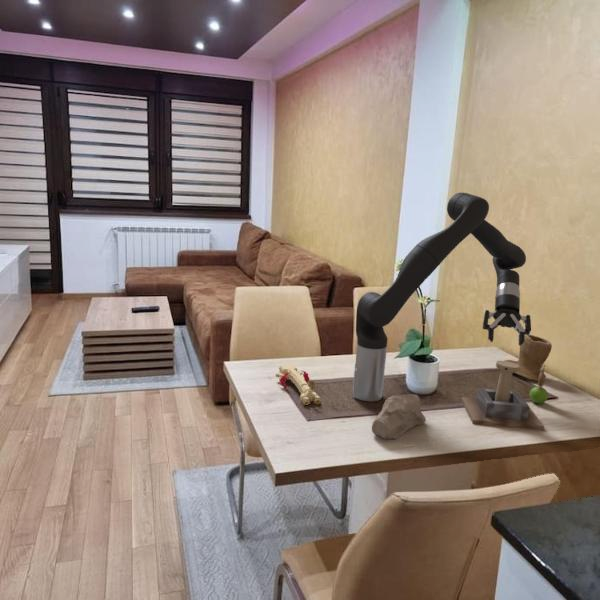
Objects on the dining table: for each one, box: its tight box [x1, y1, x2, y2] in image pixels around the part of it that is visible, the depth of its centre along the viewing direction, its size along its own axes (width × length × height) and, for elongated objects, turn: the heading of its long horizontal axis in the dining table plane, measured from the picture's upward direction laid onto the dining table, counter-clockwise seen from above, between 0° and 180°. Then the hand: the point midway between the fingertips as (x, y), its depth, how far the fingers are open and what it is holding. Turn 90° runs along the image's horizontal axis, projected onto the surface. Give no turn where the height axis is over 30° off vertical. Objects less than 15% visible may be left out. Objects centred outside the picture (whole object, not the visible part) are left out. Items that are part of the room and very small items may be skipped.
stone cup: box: [504, 334, 553, 381], centre depth 191 cm, size 15×12×15 cm
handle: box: [495, 360, 519, 402], centre depth 156 cm, size 5×6×15 cm
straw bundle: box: [275, 363, 322, 406], centre depth 167 cm, size 10×9×25 cm
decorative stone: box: [371, 393, 426, 440], centre depth 145 cm, size 20×8×10 cm, turn 137°
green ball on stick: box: [528, 364, 549, 405], centre depth 167 cm, size 5×6×12 cm
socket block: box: [460, 387, 545, 431], centre depth 158 cm, size 20×16×6 cm
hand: (506, 342), depth 164 cm, fingers open, 8 cm apart
